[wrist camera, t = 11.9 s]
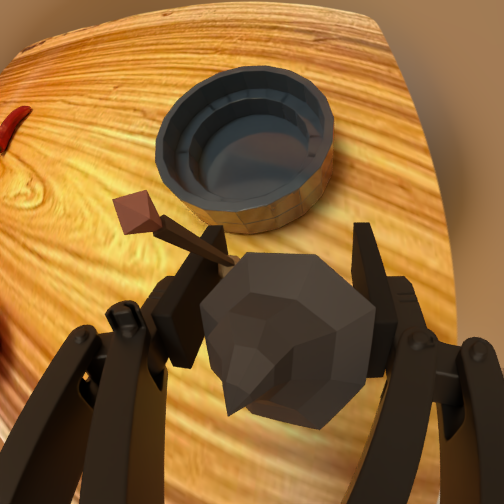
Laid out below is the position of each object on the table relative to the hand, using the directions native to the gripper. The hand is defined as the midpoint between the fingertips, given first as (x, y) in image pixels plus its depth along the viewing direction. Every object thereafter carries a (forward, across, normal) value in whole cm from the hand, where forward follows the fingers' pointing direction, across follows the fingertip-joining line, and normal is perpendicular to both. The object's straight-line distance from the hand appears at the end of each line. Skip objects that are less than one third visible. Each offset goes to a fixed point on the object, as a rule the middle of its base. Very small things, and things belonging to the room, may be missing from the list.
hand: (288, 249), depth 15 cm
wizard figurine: (0, 0, -5) cm, 5 cm away
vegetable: (+29, -56, +12) cm, 64 cm away
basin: (+17, -5, 0) cm, 18 cm away
